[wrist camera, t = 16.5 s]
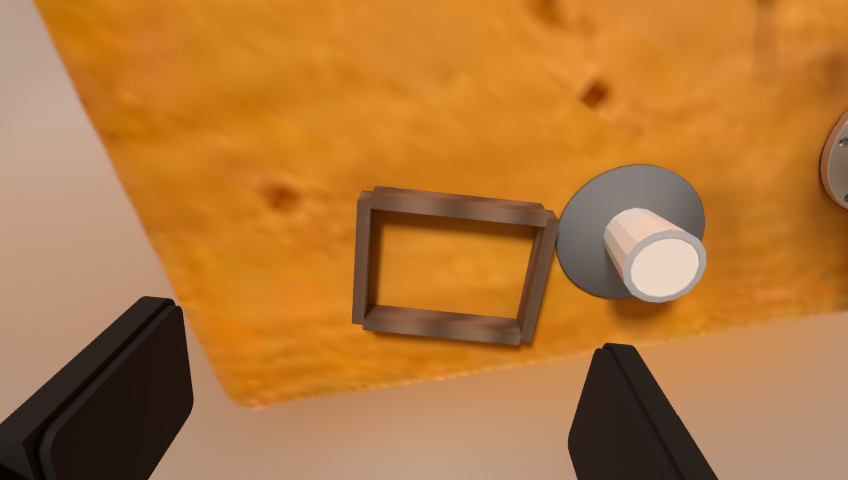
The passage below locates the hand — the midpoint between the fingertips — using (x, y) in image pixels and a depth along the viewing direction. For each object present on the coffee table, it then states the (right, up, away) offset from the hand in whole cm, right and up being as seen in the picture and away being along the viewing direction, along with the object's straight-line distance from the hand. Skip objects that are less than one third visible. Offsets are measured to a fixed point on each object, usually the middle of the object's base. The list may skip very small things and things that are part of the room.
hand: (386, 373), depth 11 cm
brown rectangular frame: (+3, +1, +37) cm, 37 cm away
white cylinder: (+21, +4, +35) cm, 41 cm away
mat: (+21, +4, +35) cm, 41 cm away
